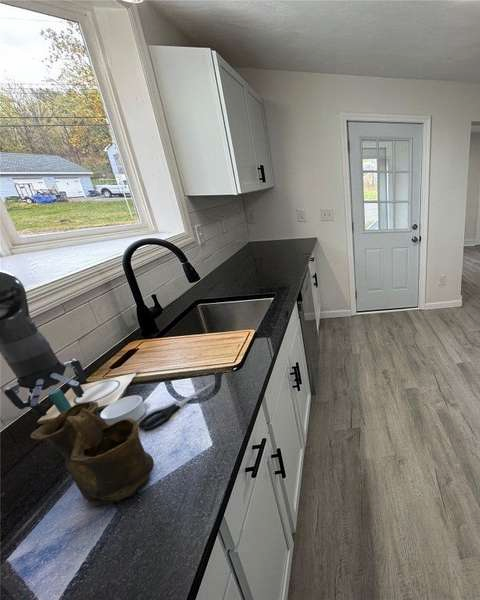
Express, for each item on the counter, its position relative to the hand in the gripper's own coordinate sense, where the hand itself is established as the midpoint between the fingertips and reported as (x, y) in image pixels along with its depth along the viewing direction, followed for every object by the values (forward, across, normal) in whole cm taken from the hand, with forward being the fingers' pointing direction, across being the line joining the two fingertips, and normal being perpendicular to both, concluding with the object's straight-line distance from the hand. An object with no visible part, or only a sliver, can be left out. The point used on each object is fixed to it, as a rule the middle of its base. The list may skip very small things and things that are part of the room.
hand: (62, 405), depth 83 cm
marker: (+6, 0, 0) cm, 6 cm away
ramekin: (+7, -7, +13) cm, 16 cm away
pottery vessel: (+7, +4, +36) cm, 37 cm away
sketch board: (+6, -8, -9) cm, 14 cm away
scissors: (+6, -16, +22) cm, 28 cm away
